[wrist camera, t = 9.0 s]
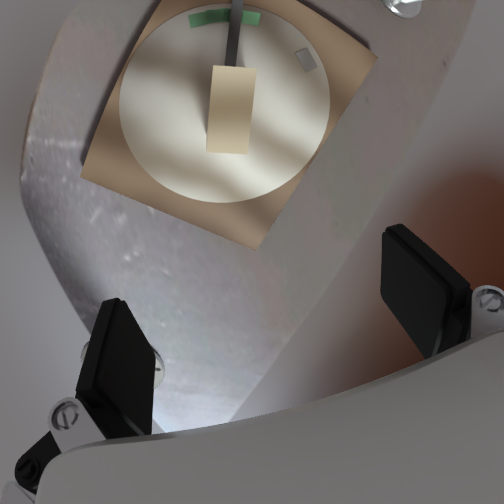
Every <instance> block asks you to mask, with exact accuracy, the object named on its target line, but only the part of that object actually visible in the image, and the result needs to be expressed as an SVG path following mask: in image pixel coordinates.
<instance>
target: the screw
mask: <svg viewBox="0 0 504 504" xmlns="http://www.w3.org/2000/svg"><path fill="white" fill-rule="evenodd" d="M421 1H425V0H382V2H383V4H384V5H385V7H386V8H387V9H388V10H389V11H390V12H392V13H393V14H395V15H396V16H398V17H401V18H412V17H415V16H416V15H417V14H418V13H419V12H420V9H421Z"/></svg>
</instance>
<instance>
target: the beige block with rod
mask: <svg viewBox="0 0 504 504" xmlns="http://www.w3.org/2000/svg"><path fill="white" fill-rule="evenodd" d="M243 2H244V0H232V6H231V13H230V21H229V30H228V38H227V47H226V56H225V65H224V66H216V65H213V68H212V78H211V88H210V100H209V111H208V124H207V139H206V152H210V153H230V154H248V145H249V135H250V126H251V117H252V108H253V99H254V90H255V82H256V73H257V69H254V68H243V67H236V60H237V51H238V42H239V34H240V26H241V18H242V10H243Z"/></svg>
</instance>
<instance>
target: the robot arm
mask: <svg viewBox="0 0 504 504" xmlns="http://www.w3.org/2000/svg"><path fill="white" fill-rule="evenodd" d="M380 291H381V296H382V298H383V300H384V302H385V303H386V304H387V306H388V307H389V309H390V310H391V311H392V313H393V314H394V315H395V317H396V318H397V320H398V321H399V322H400V324H401V325H402V327H403V328H404V329H405V331H406V332H407V334H408V335H409V336H410V338H411V339H412V341H413V342H414V344H415V345H416V346H417V348H418V349H419V351H420V352H421V354H422V355H423V357H424V358H425V359H426V360H424V361H421V362H419V363H417V364H415V365H412V366H410V367H408V368H405V369H403V370H400V371H398V372H396V373H393V374H391V375H388V376H386V377H383V378H381V379H378V380H375V381H373V382H370V383H367V384H365V385H362V386H359V387H356V388H353V389H350V390H347V391H345V392H342V393H339V394H336V395H333V396H329V397H326V398H323V399H320V400H317V401H313V402H310V403H307V404H303V405H300V406H296V407H292V408H289V409H285V410H281V411H277V412H274V413H269V414H265V415H261V416H257V417H252V418H248V419H243V420H239V421H234V422H229V423H224V424H219V425H213V426H208V427H202V428H196V429H189V430H182V431H175V432H168V433H162V434H161V433H160V434H153V435H151V433H152V411H153V394H154V389H155V388H156V387H158V386H159V385H160V384H161V383H162V381H163V379H164V372H165V370H164V364H163V362H162V360H161V358H160V357H159V356H158V355H157V354H156V353H155V352H154V351H153V349H152V347H151V346H150V344H149V342H148V341H147V339H146V337H145V336H144V334H143V332H142V330H141V329H140V327H139V325H138V323H137V322H136V320H135V318H134V316H133V314H132V313H131V311H130V309H129V307H128V305H127V303H126V302H125V301H124V300H123V301H121V300H120V299H119V298H114V299H110V300H106V301H103V302H102V305H101V308H100V310H99V313H98V316H97V319H96V322H95V325H94V328H93V331H92V335H91V338H90V341H89V342H87V343H86V345H85V346H84V348H83V350H82V354H81V363H82V368H81V372H80V375H79V379H78V383H77V387H76V396H75V398H73V397H67V398H64V399H62V400H60V401H58V402H57V403H56V404H55V405H54V406H53V408H52V409H51V411H50V413H49V416H48V426H49V429H50V431H49V432H48V433H47V434H46V435H45V436H43V437H42V438H41V439H40V440H39V441H38V442H37V443H36V444H35V445H33V446H32V447H31V448H30V449H29V450H28V451H27V452H26V453H25V454H23V455H22V456H21V458H20V459H19V460H18V462H17V464H16V467H15V478H16V479H13V480H10V481H7V482H6V483H5V484H4V485H3V487H2V489H1V492H0V504H504V292H503V291H502V290H501V289H499V288H497V287H494V286H480V287H478V288H477V289H475V290H474V291H473V290H471V289H470V283H468V282H467V281H466V280H465V279H464V278H463V277H462V276H461V275H460V274H459V273H458V272H457V271H456V270H455V269H454V268H453V267H451V266H450V265H449V264H448V263H447V262H446V261H445V260H444V259H443V258H442V257H440V256H439V255H438V254H437V253H436V252H435V251H433V250H432V249H431V248H430V247H429V246H428V245H427V244H426V243H424V242H423V241H422V240H421V239H420V238H419V237H417V236H416V235H415V234H414V233H412V232H411V231H410V230H409V229H408V228H406V227H405V226H404V225H403V224H397V225H393V226H390V227H387V228H386V230H385V232H383V234H382V264H381V289H380Z"/></svg>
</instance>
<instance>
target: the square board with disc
mask: <svg viewBox="0 0 504 504" xmlns="http://www.w3.org/2000/svg"><path fill="white" fill-rule="evenodd" d="M231 6H232V0H161V2H160V3H159V5H158V7H157V8H156V10H155V11H154V13H153V15H152V16H151V18H150V20H149V21H148V23H147V25H146V26H145V28H144V30H143V32H142V33H141V35H140V37H139V39H138V41H137V42H136V44H135V46H134V48H133V50H132V52H131V54H130V56H129V57H128V59H127V61H126V63H125V65H124V67H123V69H122V71H121V74H120V76H119V78H118V80H117V82H116V84H115V86H114V89H113V91H112V93H111V95H110V97H109V100H108V102H107V104H106V107H105V109H104V112H103V114H102V116H101V119H100V121H99V124H98V127H97V129H96V132H95V134H94V137H93V140H92V142H91V145H90V148H89V151H88V154H87V157H86V160H85V163H84V166H83V169H82V172H81V175H80V177H81V178H84V179H86V180H88V181H91V182H93V183H96V184H98V185H100V186H103V187H105V188H107V189H110V190H112V191H115V192H117V193H119V194H122V195H124V196H127V197H129V198H131V199H134V200H136V201H138V202H141V203H143V204H146V205H148V206H150V207H153V208H155V209H157V210H160V211H162V212H165V213H167V214H169V215H172V216H174V217H176V218H179V219H181V220H184V221H186V222H188V223H191V224H193V225H195V226H198V227H200V228H203V229H205V230H207V231H210V232H212V233H214V234H217V235H219V236H222V237H224V238H226V239H229V240H231V241H233V242H236V243H238V244H240V245H243V246H245V247H248V248H250V249H252V250H255V251H256V250H257V248H258V247H259V245H260V243H261V242H262V240H263V239H264V237H265V235H266V234H267V232H268V231H269V229H270V228H271V226H272V224H273V223H274V221H275V220H276V218H277V217H278V215H279V213H280V212H281V210H282V209H283V207H284V206H285V204H286V202H287V201H288V199H289V198H290V196H291V194H292V193H293V191H294V190H295V188H296V187H297V185H298V183H299V182H300V180H301V179H302V177H303V176H304V174H305V172H306V171H307V169H308V168H309V166H310V164H311V163H312V161H313V160H314V158H315V157H316V155H317V153H318V152H319V150H320V149H321V147H322V145H323V144H324V142H325V141H326V139H327V138H328V136H329V134H330V133H331V131H332V130H333V128H334V126H335V125H336V123H337V122H338V120H339V119H340V117H341V115H342V114H343V112H344V111H345V109H346V107H347V106H348V104H349V103H350V101H351V99H352V98H353V96H354V95H355V93H356V92H357V90H358V88H359V87H360V85H361V84H362V82H363V80H364V79H365V77H366V76H367V74H368V72H369V71H370V69H371V68H372V66H373V65H374V63H375V61H376V60H377V58H378V57H377V56H376V55H375V54H373V53H372V52H371V51H370V50H368V49H367V48H366V47H364V46H363V45H362V44H361V43H359V42H358V41H357V40H355V39H354V38H353V37H351V36H350V35H348V34H347V33H346V32H344V31H343V30H341V29H340V28H339V27H337V26H336V25H334V24H333V23H331V22H330V21H328V20H327V19H325V18H324V17H322V16H321V15H319V14H318V13H316V12H314V11H313V10H311V9H310V8H308V7H306V6H305V5H303V4H301V3H300V2H298V1H296V0H244V2H243V10H242V18H241V26H240V34H239V42H238V51H237V60H236V67H243V68H254V69H257V73H256V82H255V90H254V99H253V108H252V117H251V126H250V135H249V145H248V154H230V153H210V152H206V139H207V124H208V111H209V100H210V88H211V78H212V68H213V65H216V66H224V65H225V56H226V47H227V38H228V30H229V21H230V13H231Z"/></svg>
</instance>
